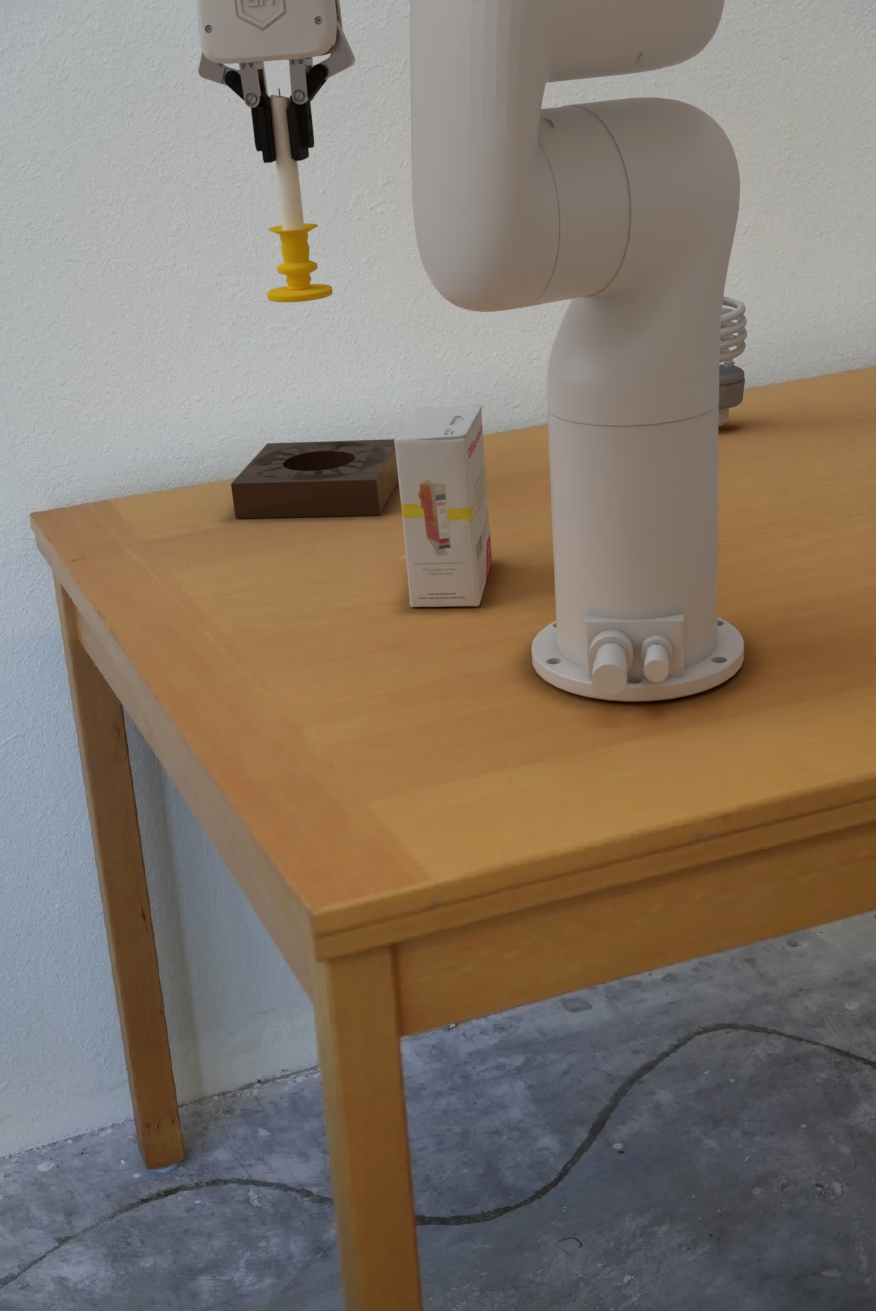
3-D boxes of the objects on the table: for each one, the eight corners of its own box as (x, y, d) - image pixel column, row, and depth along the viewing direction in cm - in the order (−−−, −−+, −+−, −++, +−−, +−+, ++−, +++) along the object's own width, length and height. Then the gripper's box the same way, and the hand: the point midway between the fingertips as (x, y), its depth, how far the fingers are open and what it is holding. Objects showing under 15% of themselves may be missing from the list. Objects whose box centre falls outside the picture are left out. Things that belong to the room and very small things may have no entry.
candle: (336, 288, 120) (317, 83, 114) (328, 300, 115) (307, 87, 109) (273, 292, 120) (250, 88, 114) (262, 304, 116) (237, 92, 110)
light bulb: (711, 417, 138) (711, 287, 134) (758, 426, 134) (761, 293, 130) (670, 430, 135) (669, 297, 131) (717, 440, 131) (718, 303, 126)
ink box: (426, 564, 107) (414, 404, 102) (494, 563, 106) (484, 401, 101) (406, 609, 99) (391, 437, 94) (479, 608, 98) (467, 435, 94)
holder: (379, 515, 118) (376, 479, 117) (235, 518, 120) (230, 483, 119) (404, 472, 129) (401, 438, 128) (271, 475, 131) (267, 443, 130)
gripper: (137, -102, 104) (174, 171, 112) (354, -122, 102) (378, 158, 109) (169, -95, 111) (202, 161, 118) (374, -114, 109) (394, 149, 116)
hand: (286, 158), depth 114 cm, fingers closed on candle, 1 cm apart
